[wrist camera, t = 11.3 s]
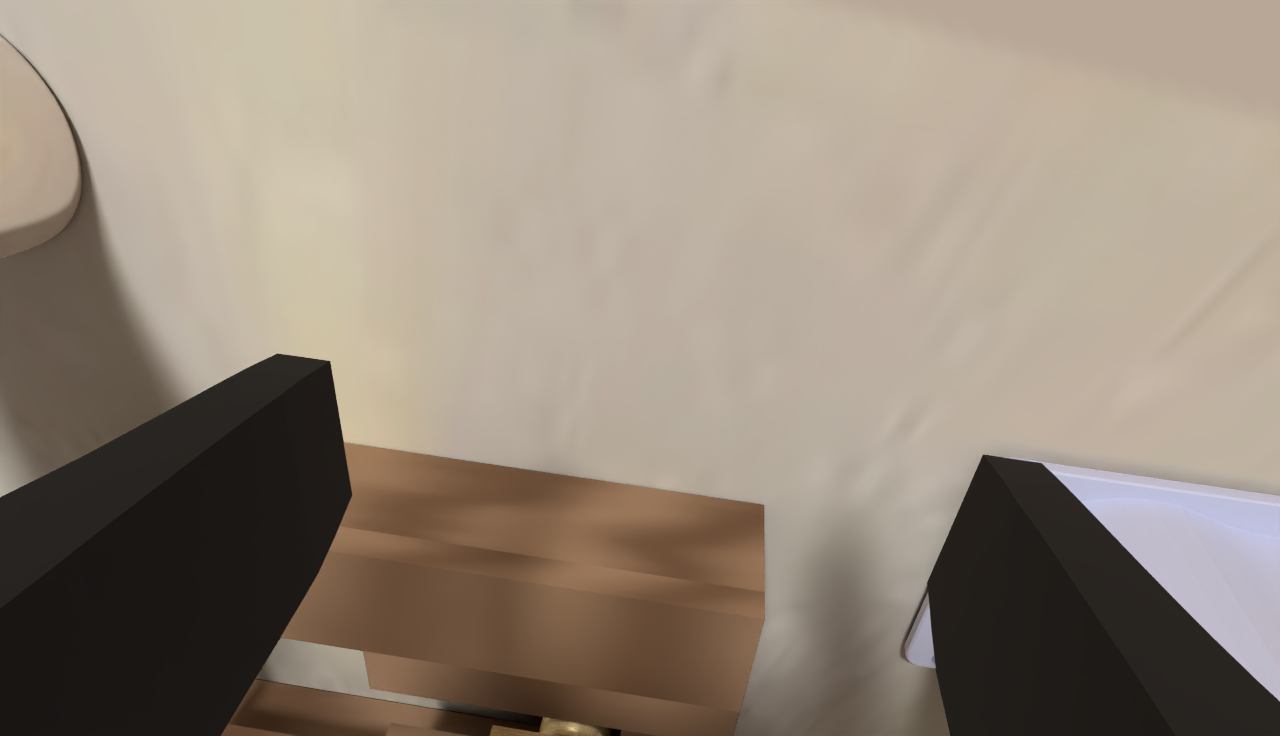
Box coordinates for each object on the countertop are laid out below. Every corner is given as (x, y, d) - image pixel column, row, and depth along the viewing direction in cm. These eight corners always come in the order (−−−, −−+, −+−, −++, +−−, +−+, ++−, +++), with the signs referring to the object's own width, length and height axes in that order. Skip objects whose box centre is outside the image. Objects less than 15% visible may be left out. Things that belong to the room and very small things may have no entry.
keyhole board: (763, 504, 22) (764, 619, 19) (698, 775, 30) (692, 886, 27) (166, 416, 23) (71, 511, 20) (259, 702, 31) (202, 801, 27)
